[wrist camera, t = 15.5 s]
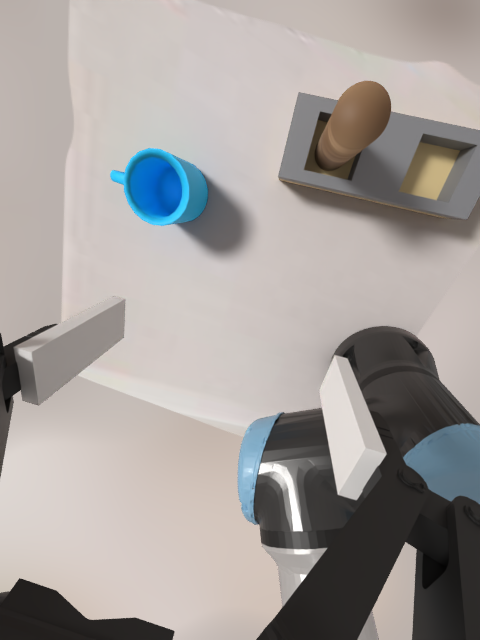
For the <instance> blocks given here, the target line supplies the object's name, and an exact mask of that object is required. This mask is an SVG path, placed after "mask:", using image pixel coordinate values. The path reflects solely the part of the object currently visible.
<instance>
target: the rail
mask: <svg viewBox="0 0 480 640" xmlns="http://www.w3.org/2000/svg"><path fill="white" fill-rule="evenodd" d="M337 102H338V100H334V99H329V98H324V97H319V96H315V95H310V94H305V93H300V92H299V93H298V97H297V101H296V105H295V109H294V113H293V118H292V122H291V126H290V130H289V134H288V138H287V142H286V146H285V150H284V155H283V159H282V163H281V167H280V171H279V175H278V177H279V180H281V181H285V182H289V183H294V184H298V185H302V186H307V187H311V188H315V189H320V190H324V191H328V192H333V193H337V194H341V195H345V196H350V197H354V198H358V199H363V200H367V201H371V202H376V203H380V204H384V205H389V206H393V207H397V208H402V209H406V210H410V211H414V212H419V213H423V214H427V215H432V216H436V217H440V218H449V219H464V220H467V219H468V217H469V215H470V213H471V211H472V210H473V208H474V206H475V204H476V202H477V200H478V198H479V197H480V130H476V129H471V128H466V127H461V126H457V125H452V124H447V123H443V122H438V121H433V120H428V119H424V118H419V117H414V116H409V115H405V114H400V113H395V112H391V114H390V119H389V122H388V124H387V126H386V128H385V130H384V131H383V133H382V134H381V135H380V136H379V137H378V138H377V139H376V140H375V141H374V142H372V143H371V144H370V145H369V146H367V147H366V148H365V149H363V150H362V151H361V152H359V153H358V154H357V155H355V156H354V157H353V158H351V159H350V160H349V161H348V162H346V163H345V164H344V165H342V166H341V167H340V168H338V169H336V170H334V171H325V170H323V169H321V168H320V167H319V166H318V165H317V163H316V161H315V149H316V146H317V144H318V142H319V140H320V137H321V135H322V133H323V131H324V129H325V127H326V125H327V123H328V121H329V119H330V117H331V115H332V112H333V110H334V108H335V106H336V104H337Z"/></svg>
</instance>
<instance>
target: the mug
mask: <svg viewBox="0 0 480 640" xmlns="http://www.w3.org/2000/svg"><path fill="white" fill-rule="evenodd" d="M110 177H111V179H112V180H113V181H114V182H117V183H120V184H123V185H124V192H125V195H126V198H127V201H128V204H129V205H130V207H131V208H132V210H133V211H134V213H135V214H137V215H138V216H139V217H140V218H141V219H142V220H144V221H146V222H148V223H150V224H152V225H160V226H163V225H170V224H177V223H184V222H188V221H192V220H194V219H195V218H197V217H198V216H200V214H201V213H202V212H203V210H204V209H205V206H206V203H207V200H208V188H207V184H206V180H205V178H204V177H203V175H202V173H201V171H200V170H199V169H197V168H196V167H195V166H194V165H193V164H191V163H189V162H187V161H185V160H182V159H180V158H178V157H176V156H174V155H172V154H170V153H167V152H165V151H163V150H161V149H153V148H148V149H145V150H142V151H139V152H138V153H137V154H136V155H135V156H133V157H132V158H131V160H130V161H129V163H128V165H127V167H126V169H125V173H124V172H120V171H115V170H113V171H111V173H110Z"/></svg>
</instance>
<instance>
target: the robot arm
mask: <svg viewBox="0 0 480 640" xmlns="http://www.w3.org/2000/svg"><path fill="white" fill-rule="evenodd" d="M124 322H125V299H124V298H120V297H116V296H112V297H110V298H109V299H107V300H105V301H103V302H101V303H99V304H97V305H95V306H93V307H91V308H89V309H87V310H85V311H83V312H81V313H79V314H77V315H75V316H73V317H71V318H69V319H67V320H66V321H64V322H62V323H60V324H53V325H49V326H45V327H43V328H40V329H38V330H37V331H35V332H32V333H30V334H28V335H27V336H24V337H22V338H20V339H18V340H16V341H14V342H12V343H10V344H8V345H6V346H4V347H3V343H2V337H1V333H0V476H1V471H2V465H3V459H4V454H5V448H6V442H7V437H8V431H9V425H10V420H11V414H12V408H13V403H14V401H13V395H14V394H16V393H17V392H18V391H20V390H21V394H22V400H23V401H25V402H29V403H32V404H36V405H40V404H41V403H43V402H44V401H45V400H46V399H47V398H49V397H50V396H51V395H53V394H54V393H55V392H56V391H58V390H59V389H60V388H61V387H63V386H64V385H65V384H66V383H68V382H69V381H70V380H71V379H72V378H74V377H75V376H76V375H78V374H79V373H80V372H81V371H83V370H84V369H85V368H86V367H88V366H89V365H90V364H91V363H93V362H94V361H95V360H96V359H98V358H99V357H100V356H101V355H103V354H104V353H105V352H106V351H108V350H109V349H110V348H111V347H113V346H114V345H115V344H116V343H117V342H119V341H120V340H121V339H122V338H124ZM319 394H320V399H321V405H322V408H319V409H313V410H306V411H299V412H292V413H284V412H281V413H278V414H277V415H274V416H269V417H265V418H260V419H257V420H255V421H254V422H253V423H252V424H251V425H250V426H249V427H248V429H247V431H246V433H245V436H244V438H243V441H242V444H241V449H240V454H239V463H238V493H239V500H240V502H241V503H242V507H241V509H242V512H243V514H244V516H245V518H246V519H247V520H248V521H249V522H252V523H253V524H255V525H256V524H259V525H260V534H261V543H262V547H263V548H264V549H265V550H266V552H267V553H268V554H269V555H270V556H271V557H272V558H273V559H274V561H275V562H276V564H277V566H278V572H279V580H280V589H281V598H282V609H281V610H280V612H279V613H278V614H277V615H276V617H275V618H274V619H273V620H272V621H271V622H270V623H269V625H268V626H267V627H266V628H265V629H264V631H263V632H262V633H261V634H260V636H259V637H258V638H257V639H256V640H379V638H378V634H377V629H376V625H375V621H374V617H373V612H372V609H373V607H374V604H375V603H376V601H377V599H378V596H379V594H380V593H381V590H382V588H383V586H384V584H385V582H386V580H387V578H388V576H389V574H390V572H391V570H392V568H393V566H394V564H395V562H396V560H397V558H398V556H399V554H400V552H401V549H402V548H403V546H404V544H405V542H407V543H408V544H410V545H411V546H413V547H415V548H416V549H417V553H416V574H415V596H414V614H413V634H412V640H480V424H479V423H478V422H477V421H476V420H475V419H474V418H473V417H472V416H471V414H470V413H469V412H468V411H467V410H466V409H465V408H464V407H463V406H462V404H461V403H459V401H458V400H457V399H456V398H455V397H454V396H453V395H452V394H451V392H450V391H449V390H448V389H447V388H446V387H445V386H444V385H443V384H442V383H441V382H440V380H439V377H438V373H437V369H436V365H435V361H434V358H433V356H432V354H431V352H430V351H429V349H428V348H427V347H426V346H425V345H424V344H423V343H422V342H421V341H420V340H419V339H418V338H417V337H416V336H415V335H413V334H412V333H410V332H408V331H406V330H403V329H400V328H396V327H388V326H379V327H372V328H368V329H364V330H362V331H359V332H357V333H355V334H353V335H351V336H350V337H348V338H347V339H346V340H345V341H343V342H342V343H341V345H340V346H339V347H338V348H337V350H336V351H335V353H334V355H333V357H332V361H331V365H330V367H329V369H328V372H327V374H326V376H325V379H324V381H323V383H322V386H321V388H320V390H319ZM173 636H174V631H173V630H170V629H167V628H164V627H161V626H158V625H155V624H153V623H149V622H146V621H144V620H140V619H138V618H121V619H102V620H89V619H87V618H85V617H84V616H83V615H82V614H81V613H80V612H78V611H77V609H75V608H74V607H73V606H72V605H71V604H70V603H69V602H68V601H67V600H66V599H65V598H64V597H63V596H62V595H61V594H59V593H58V592H57V591H56V590H53V589H50V588H47V587H44V586H41V585H38V584H35V583H32V582H29V581H26V580H23V579H19V580H18V581H17V582H16V584H15V585H14V587H13V588H12V589H11V591H10V592H3V593H0V640H172V639H173Z"/></svg>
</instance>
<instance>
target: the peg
mask: <svg viewBox="0 0 480 640" xmlns="http://www.w3.org/2000/svg"><path fill="white" fill-rule="evenodd" d="M390 114H391V101H390V97H389V95H388V92H387V91H386V89H385V88H384V87H383V86H382V85H380V84H378V83H376V82H373V81H363V82H359V83H356V84H355V85H353V86H351V87H350V88H348V89H347V90H346V91H345V92H344V93H343V94H342V96H341V97H340V99H339V100H338V102H337V104H336V106H335V108H334V110H333V112H332V115H331V117H330V119H329V121H328V123H327V125H326V127H325V129H324V131H323V133H322V135H321V137H320V140H319V142H318V144H317V146H316V149H315V161H316V163H317V165H318V166H319V167H320V168H321V169H323V170H325V171H334V170H336V169H338V168H340V167H341V166H342V165H344V164H345V163H346V162H348V161H349V160H350V159H351V158H353V157H354V156H355V155H357V154H358V153H359V152H361V151H362V150H363V149H365V148H366V147H367V146H369V145H370V144H371V143H372V142H374V141H375V140H376V139H377V138H378V137H379V136H380V135H381V134H382V133H383V131H384V130H385V128H386V126H387V124H388V122H389V119H390Z"/></svg>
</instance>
